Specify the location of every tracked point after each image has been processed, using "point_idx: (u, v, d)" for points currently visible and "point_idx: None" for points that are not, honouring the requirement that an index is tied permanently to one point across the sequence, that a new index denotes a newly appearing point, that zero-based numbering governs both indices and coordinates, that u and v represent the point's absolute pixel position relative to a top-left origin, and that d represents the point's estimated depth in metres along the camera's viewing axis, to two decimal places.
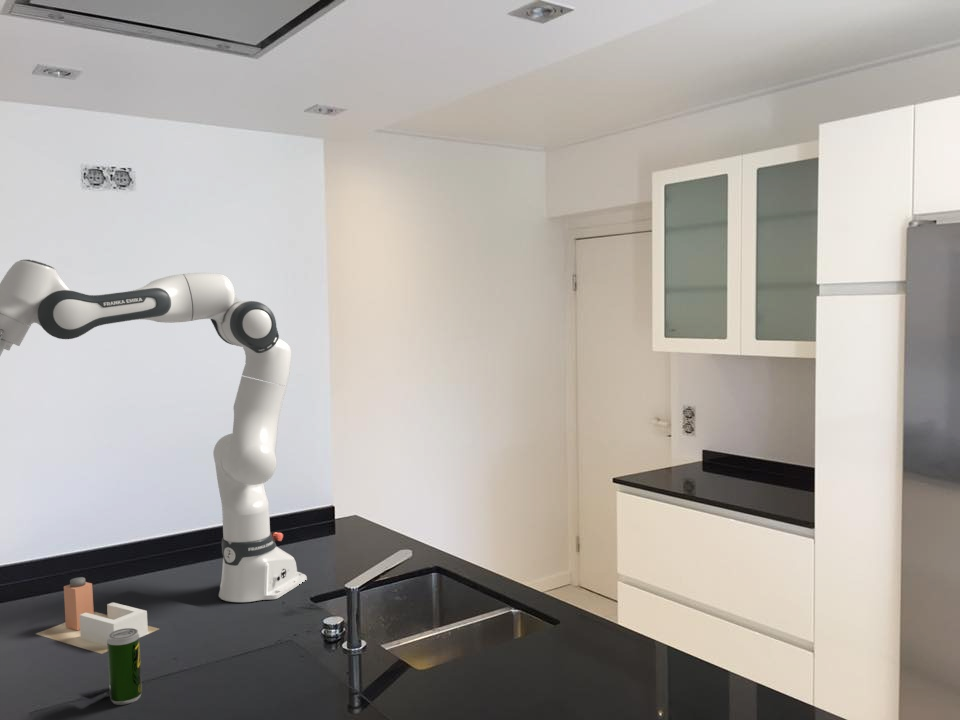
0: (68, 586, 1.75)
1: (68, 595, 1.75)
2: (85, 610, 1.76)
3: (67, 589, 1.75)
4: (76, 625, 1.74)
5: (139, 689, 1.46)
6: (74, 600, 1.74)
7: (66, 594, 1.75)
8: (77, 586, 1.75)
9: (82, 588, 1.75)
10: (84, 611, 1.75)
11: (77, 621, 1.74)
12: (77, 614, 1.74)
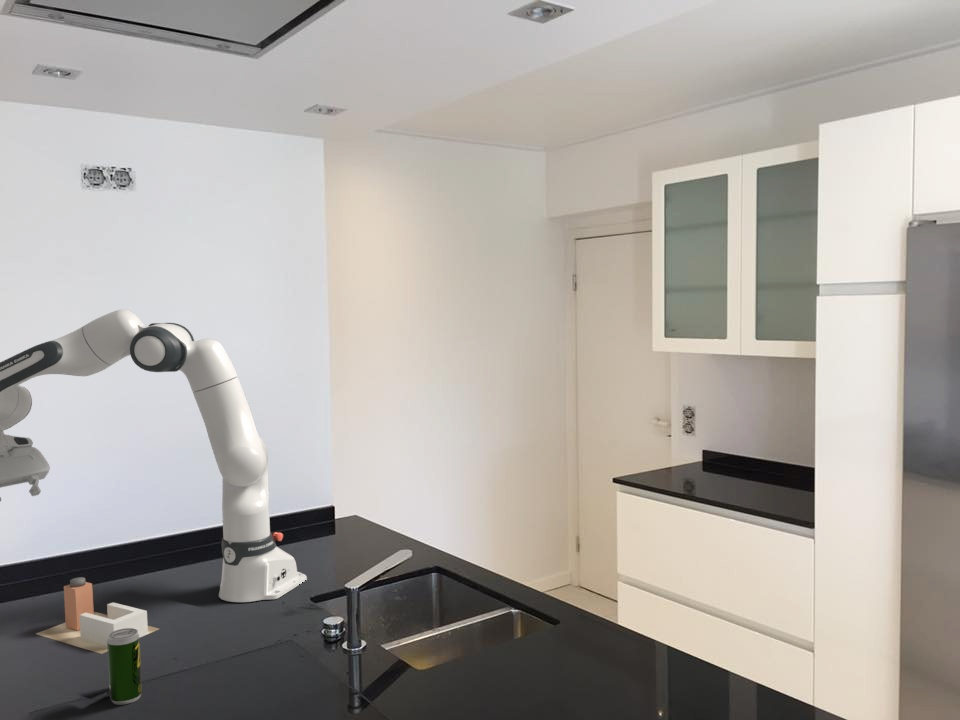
0: (68, 586, 1.75)
1: (68, 595, 1.75)
2: (85, 610, 1.76)
3: (67, 589, 1.75)
4: (76, 625, 1.74)
5: (139, 689, 1.46)
6: (74, 600, 1.74)
7: (66, 594, 1.75)
8: (77, 586, 1.75)
9: (82, 588, 1.75)
10: (84, 611, 1.75)
11: (77, 621, 1.74)
12: (77, 614, 1.74)
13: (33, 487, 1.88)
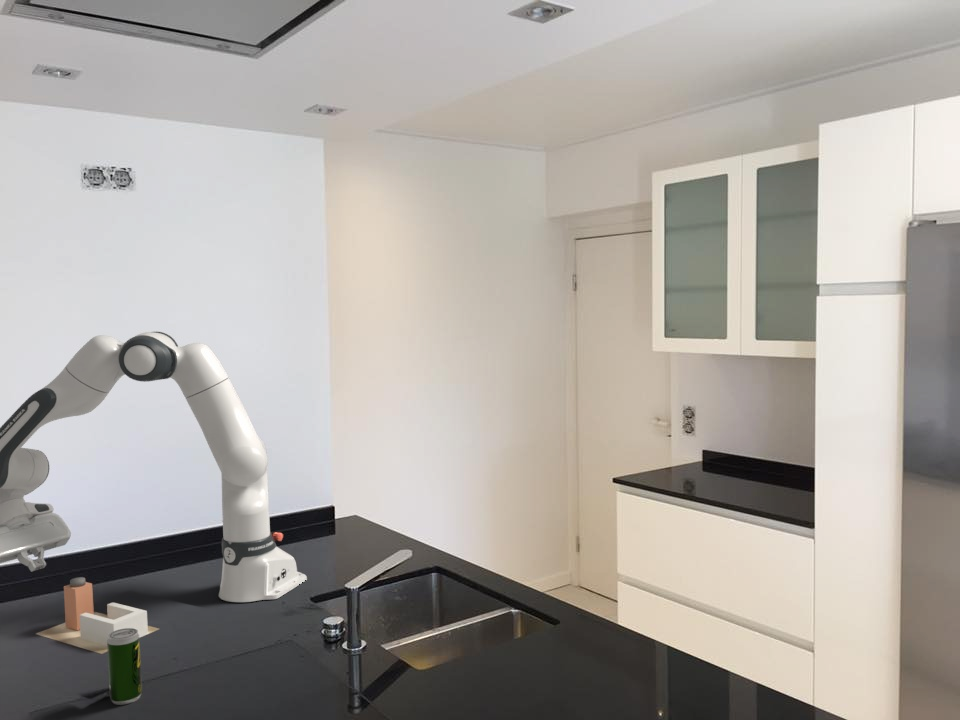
0: (68, 586, 1.75)
1: (68, 595, 1.75)
2: (85, 610, 1.76)
3: (67, 589, 1.75)
4: (76, 625, 1.74)
5: (139, 689, 1.46)
6: (74, 600, 1.74)
7: (66, 594, 1.75)
8: (77, 586, 1.75)
9: (82, 588, 1.75)
10: (84, 611, 1.75)
11: (77, 621, 1.74)
12: (77, 614, 1.74)
13: (38, 560, 1.83)
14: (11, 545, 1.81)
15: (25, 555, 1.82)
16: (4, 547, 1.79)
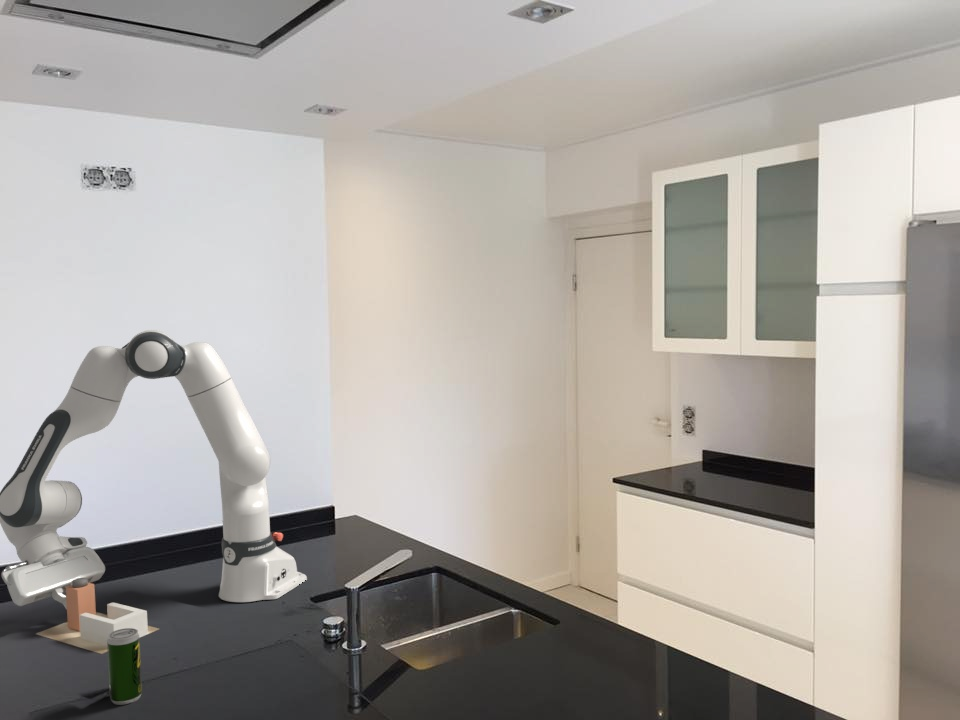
0: (70, 587, 1.75)
1: (70, 596, 1.74)
2: (87, 611, 1.75)
3: (69, 590, 1.74)
4: (78, 626, 1.74)
5: (139, 689, 1.46)
6: (76, 601, 1.74)
7: (68, 595, 1.75)
8: (79, 587, 1.74)
9: (84, 589, 1.75)
10: (86, 612, 1.75)
11: (79, 621, 1.74)
12: None
13: None
14: (46, 582, 1.75)
15: (60, 592, 1.77)
16: (39, 585, 1.74)
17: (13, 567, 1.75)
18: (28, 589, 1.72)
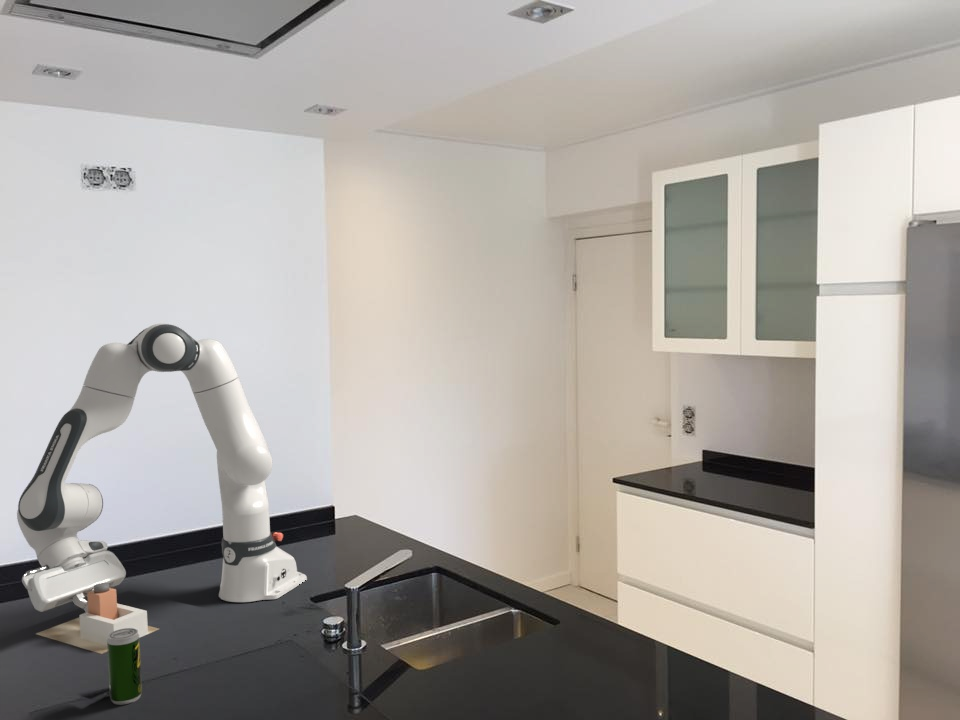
0: (92, 592, 1.71)
1: (92, 601, 1.71)
2: (109, 617, 1.72)
3: (90, 595, 1.71)
4: None
5: (139, 689, 1.46)
6: (98, 606, 1.70)
7: (90, 600, 1.71)
8: (101, 592, 1.71)
9: (106, 594, 1.71)
10: (108, 617, 1.71)
11: None
12: None
13: None
14: (67, 587, 1.72)
15: (81, 597, 1.73)
16: (60, 590, 1.70)
17: (33, 572, 1.71)
18: (49, 594, 1.68)
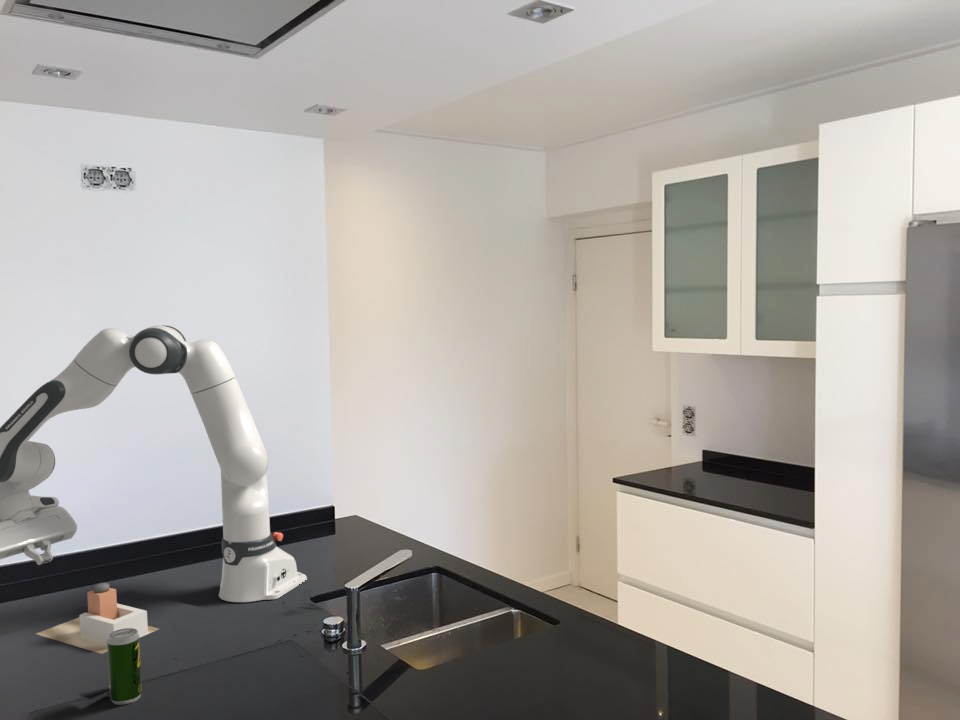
0: (92, 592, 1.71)
1: (92, 601, 1.71)
2: (109, 617, 1.72)
3: (90, 595, 1.71)
4: None
5: (139, 689, 1.46)
6: (98, 606, 1.70)
7: (90, 600, 1.71)
8: (101, 592, 1.71)
9: (106, 594, 1.71)
10: (108, 617, 1.71)
11: None
12: None
13: (45, 554, 1.82)
14: (17, 539, 1.79)
15: (32, 548, 1.80)
16: (10, 541, 1.78)
17: None
18: (0, 545, 1.76)
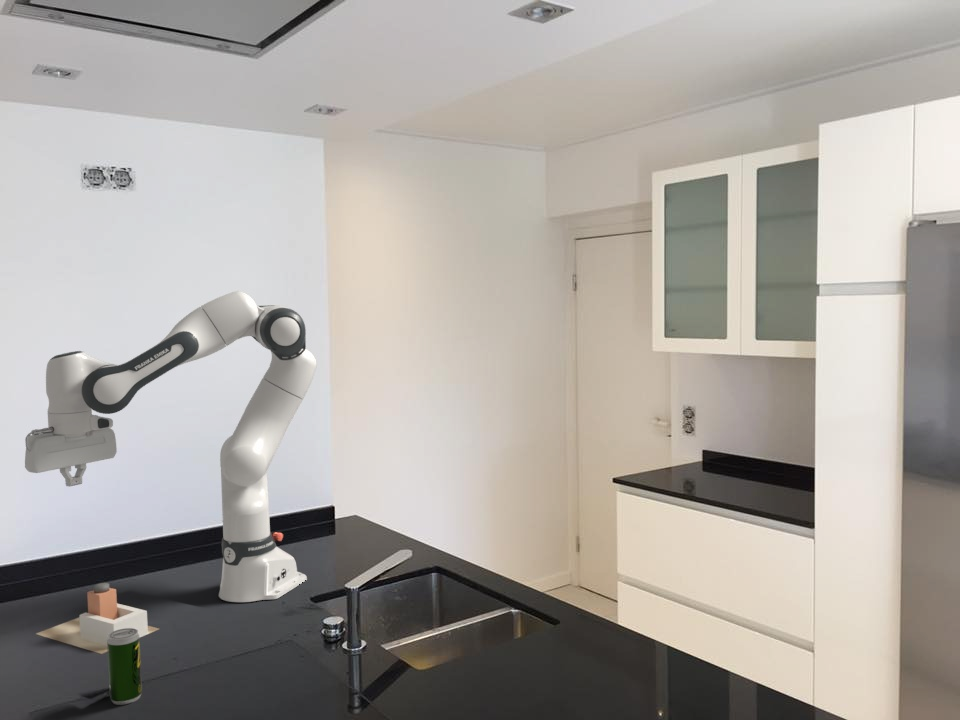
0: (92, 592, 1.71)
1: (92, 601, 1.71)
2: (109, 617, 1.72)
3: (90, 595, 1.71)
4: None
5: (139, 689, 1.46)
6: (98, 606, 1.70)
7: (90, 600, 1.71)
8: (101, 592, 1.71)
9: (106, 594, 1.71)
10: (108, 617, 1.71)
11: None
12: None
13: (77, 479, 1.82)
14: (60, 460, 1.78)
15: (68, 471, 1.80)
16: (53, 462, 1.76)
17: (39, 433, 1.75)
18: (43, 464, 1.74)
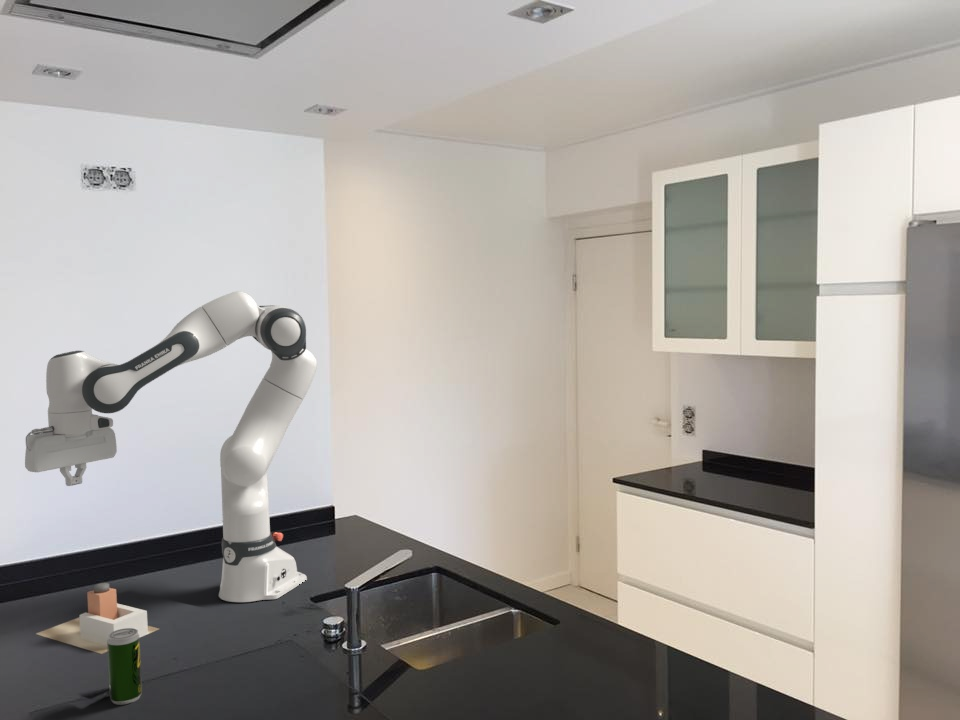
0: (92, 592, 1.71)
1: (92, 601, 1.71)
2: (109, 617, 1.72)
3: (90, 595, 1.71)
4: None
5: (139, 689, 1.46)
6: (98, 606, 1.70)
7: (90, 600, 1.71)
8: (101, 592, 1.71)
9: (106, 594, 1.71)
10: (108, 617, 1.71)
11: None
12: None
13: (77, 478, 1.82)
14: (60, 459, 1.78)
15: (68, 471, 1.80)
16: (54, 461, 1.76)
17: (39, 432, 1.75)
18: (43, 464, 1.74)
